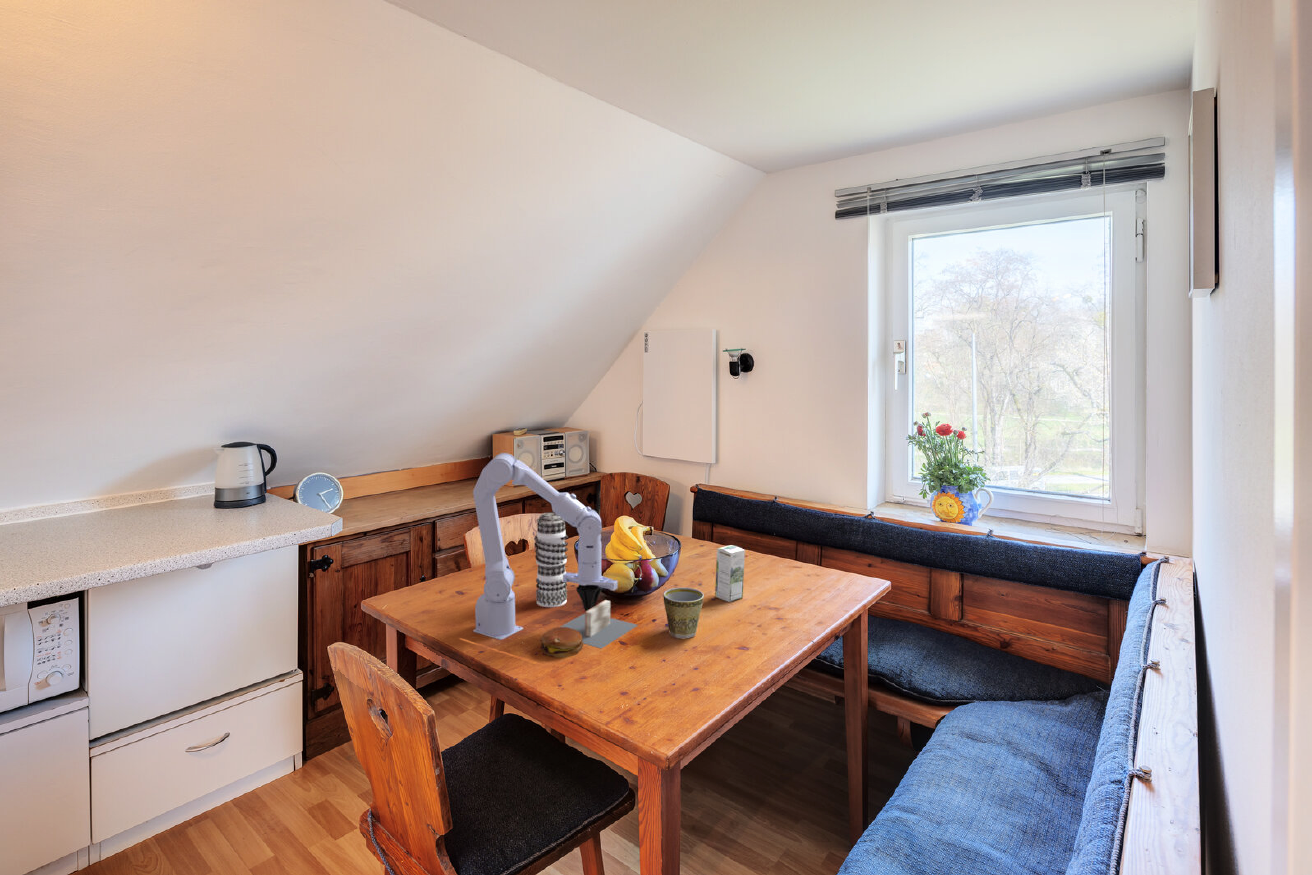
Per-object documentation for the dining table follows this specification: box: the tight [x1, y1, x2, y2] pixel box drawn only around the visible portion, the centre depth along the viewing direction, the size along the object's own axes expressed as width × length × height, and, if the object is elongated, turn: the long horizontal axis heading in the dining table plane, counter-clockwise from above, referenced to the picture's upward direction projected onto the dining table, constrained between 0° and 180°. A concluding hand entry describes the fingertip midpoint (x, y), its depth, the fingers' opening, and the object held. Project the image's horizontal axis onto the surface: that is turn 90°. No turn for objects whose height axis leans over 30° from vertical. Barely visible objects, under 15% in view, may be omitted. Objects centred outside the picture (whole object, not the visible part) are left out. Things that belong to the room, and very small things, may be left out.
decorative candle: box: [534, 511, 569, 608], centre depth 183 cm, size 9×9×25 cm
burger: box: [539, 626, 585, 659], centre depth 155 cm, size 10×9×5 cm
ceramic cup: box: [662, 587, 705, 640], centre depth 166 cm, size 13×10×10 cm
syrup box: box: [714, 544, 746, 603], centre depth 189 cm, size 6×6×14 cm
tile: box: [584, 599, 611, 637], centre depth 166 cm, size 9×2×6 cm, turn 152°
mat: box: [560, 613, 639, 649], centre depth 167 cm, size 16×16×1 cm
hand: (590, 613), depth 167 cm, fingers closed
